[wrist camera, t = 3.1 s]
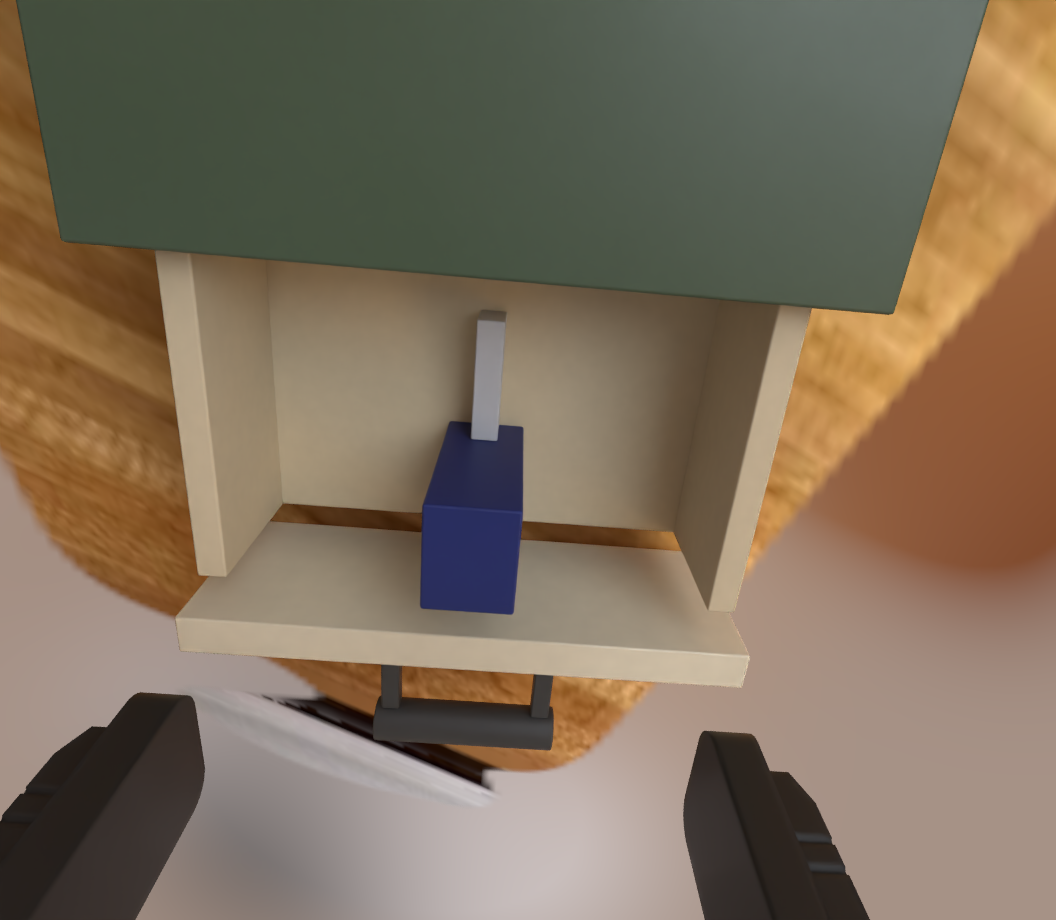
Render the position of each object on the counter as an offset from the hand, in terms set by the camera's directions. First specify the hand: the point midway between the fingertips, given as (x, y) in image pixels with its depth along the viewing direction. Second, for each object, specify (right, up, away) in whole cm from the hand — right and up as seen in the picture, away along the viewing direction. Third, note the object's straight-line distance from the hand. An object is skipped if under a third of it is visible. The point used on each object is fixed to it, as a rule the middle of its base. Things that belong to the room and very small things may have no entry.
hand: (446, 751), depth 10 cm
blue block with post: (0, +6, +10) cm, 12 cm away
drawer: (0, +5, +12) cm, 13 cm away
